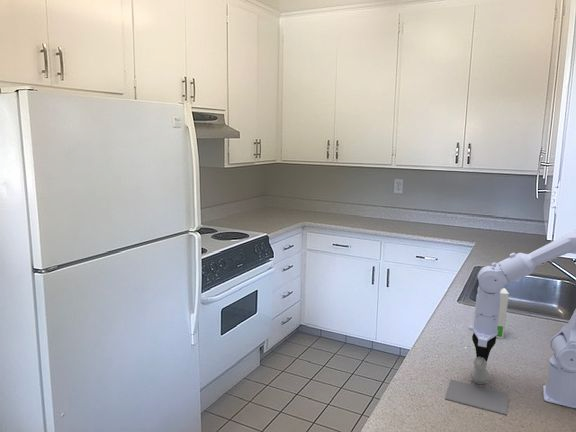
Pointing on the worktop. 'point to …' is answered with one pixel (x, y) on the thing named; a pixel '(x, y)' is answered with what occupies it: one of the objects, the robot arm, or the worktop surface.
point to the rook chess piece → (480, 371)
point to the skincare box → (502, 312)
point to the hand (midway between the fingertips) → (481, 362)
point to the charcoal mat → (477, 396)
